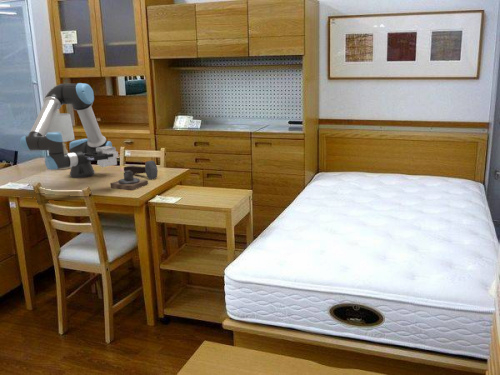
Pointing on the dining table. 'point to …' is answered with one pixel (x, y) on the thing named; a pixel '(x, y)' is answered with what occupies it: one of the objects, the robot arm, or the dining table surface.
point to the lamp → (62, 129)
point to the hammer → (144, 169)
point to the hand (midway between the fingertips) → (114, 153)
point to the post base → (129, 182)
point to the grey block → (103, 151)
